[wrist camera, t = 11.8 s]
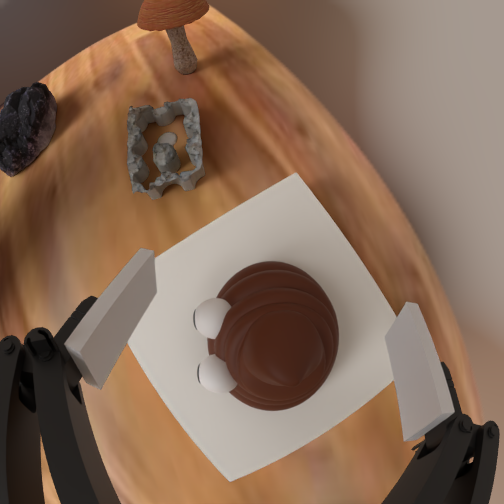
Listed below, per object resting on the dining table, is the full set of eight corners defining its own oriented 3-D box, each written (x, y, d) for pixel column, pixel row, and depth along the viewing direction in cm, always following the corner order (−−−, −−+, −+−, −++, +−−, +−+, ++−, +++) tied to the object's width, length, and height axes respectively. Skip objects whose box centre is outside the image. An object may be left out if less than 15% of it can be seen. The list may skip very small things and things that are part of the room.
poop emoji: (331, 396, 17) (389, 448, 8) (213, 406, 17) (183, 472, 8) (323, 261, 19) (377, 216, 10) (204, 268, 19) (163, 228, 10)
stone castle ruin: (139, 125, 27) (127, 103, 23) (201, 111, 28) (195, 86, 24) (136, 206, 25) (118, 188, 21) (209, 191, 25) (202, 169, 21)
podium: (120, 296, 23) (98, 292, 19) (290, 189, 25) (297, 167, 21) (231, 463, 19) (228, 485, 15) (399, 352, 22) (422, 356, 18)
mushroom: (177, 100, 28) (146, -4, 13) (147, 76, 29) (115, -10, 15) (229, 70, 29) (221, -29, 14) (194, 50, 30) (179, -35, 16)
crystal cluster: (-4, 176, 27) (-41, 155, 17) (30, 105, 29) (1, 75, 19) (40, 185, 28) (-5, 158, 18) (80, 102, 29) (50, 63, 20)
